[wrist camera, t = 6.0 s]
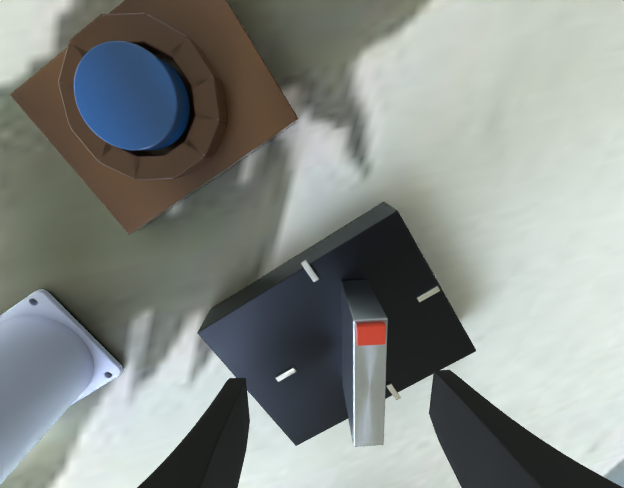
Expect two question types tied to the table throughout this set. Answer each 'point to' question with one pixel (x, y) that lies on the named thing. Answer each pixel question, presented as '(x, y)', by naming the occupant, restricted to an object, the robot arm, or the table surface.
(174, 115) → the button
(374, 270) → the tap deck
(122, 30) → the button block
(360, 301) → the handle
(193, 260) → the table surface
